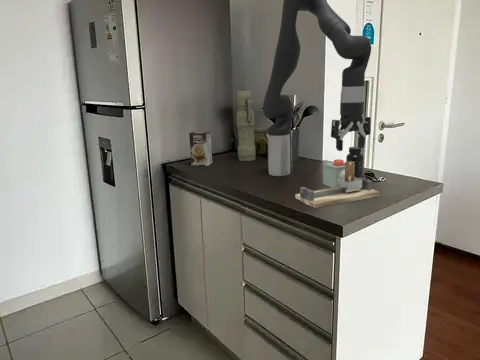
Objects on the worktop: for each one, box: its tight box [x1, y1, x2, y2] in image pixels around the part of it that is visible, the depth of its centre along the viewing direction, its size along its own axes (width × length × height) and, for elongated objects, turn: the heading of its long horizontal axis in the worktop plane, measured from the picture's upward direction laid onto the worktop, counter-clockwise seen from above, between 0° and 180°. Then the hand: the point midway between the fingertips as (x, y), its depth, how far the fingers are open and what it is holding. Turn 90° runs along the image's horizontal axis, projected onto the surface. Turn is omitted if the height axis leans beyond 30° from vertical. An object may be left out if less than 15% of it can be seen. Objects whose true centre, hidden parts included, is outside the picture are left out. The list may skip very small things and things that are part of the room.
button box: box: [322, 161, 346, 188], centre depth 147 cm, size 8×8×8 cm
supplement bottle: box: [345, 146, 365, 178], centre depth 157 cm, size 7×7×12 cm
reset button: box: [333, 158, 344, 167], centre depth 146 cm, size 4×4×4 cm
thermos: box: [235, 88, 257, 162], centre depth 194 cm, size 9×12×35 cm
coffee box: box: [188, 130, 213, 167], centre depth 191 cm, size 9×6×16 cm
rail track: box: [294, 177, 380, 209], centre depth 134 cm, size 12×26×5 cm, turn 112°
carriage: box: [337, 160, 362, 192], centre depth 134 cm, size 6×6×10 cm
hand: (350, 149), depth 132 cm, fingers open, 8 cm apart
